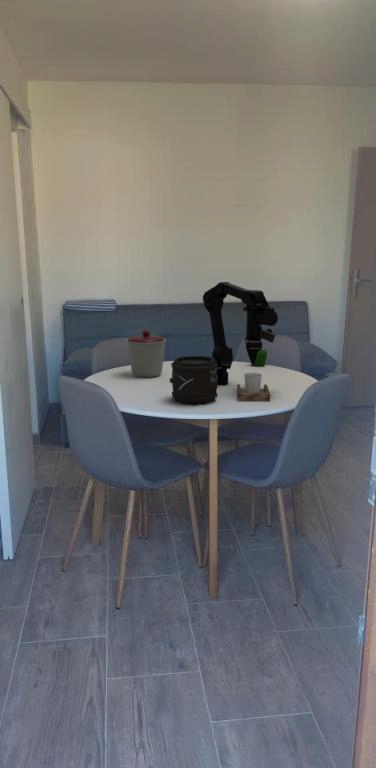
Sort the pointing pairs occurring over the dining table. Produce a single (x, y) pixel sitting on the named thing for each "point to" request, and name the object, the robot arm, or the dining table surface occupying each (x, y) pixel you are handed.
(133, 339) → the canister
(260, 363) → the bell pepper
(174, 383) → the black ribbed pot
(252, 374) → the shot glass
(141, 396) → the dining table surface
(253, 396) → the tray
